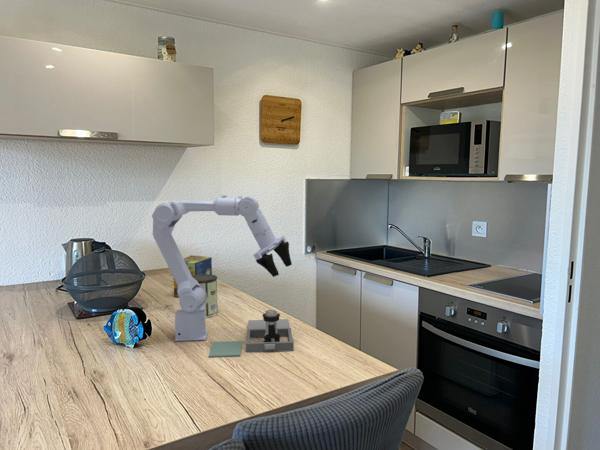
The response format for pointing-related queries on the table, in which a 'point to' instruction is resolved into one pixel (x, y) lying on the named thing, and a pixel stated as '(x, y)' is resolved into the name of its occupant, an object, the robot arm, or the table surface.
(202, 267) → the protein box
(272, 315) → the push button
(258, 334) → the equipment case
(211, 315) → the coffee can
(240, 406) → the table surface
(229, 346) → the mat
